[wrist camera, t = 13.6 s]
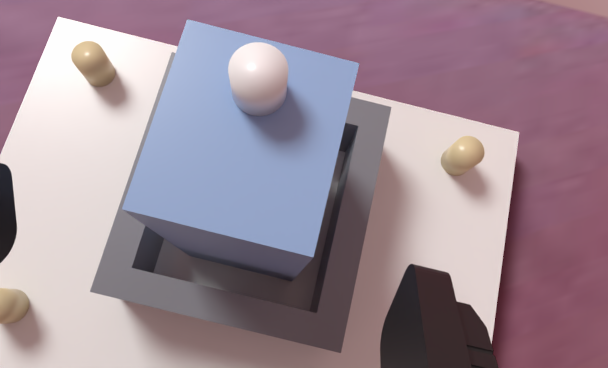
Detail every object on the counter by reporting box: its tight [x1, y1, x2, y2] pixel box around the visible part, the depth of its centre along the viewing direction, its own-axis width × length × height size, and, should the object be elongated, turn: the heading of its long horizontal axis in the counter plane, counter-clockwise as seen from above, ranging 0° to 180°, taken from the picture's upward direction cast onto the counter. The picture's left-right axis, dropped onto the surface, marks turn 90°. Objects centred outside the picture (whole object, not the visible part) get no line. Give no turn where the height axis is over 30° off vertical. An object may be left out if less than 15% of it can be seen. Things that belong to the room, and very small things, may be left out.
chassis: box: [0, 17, 519, 368], centre depth 18 cm, size 20×14×4 cm
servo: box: [122, 19, 359, 281], centre depth 14 cm, size 4×4×10 cm
